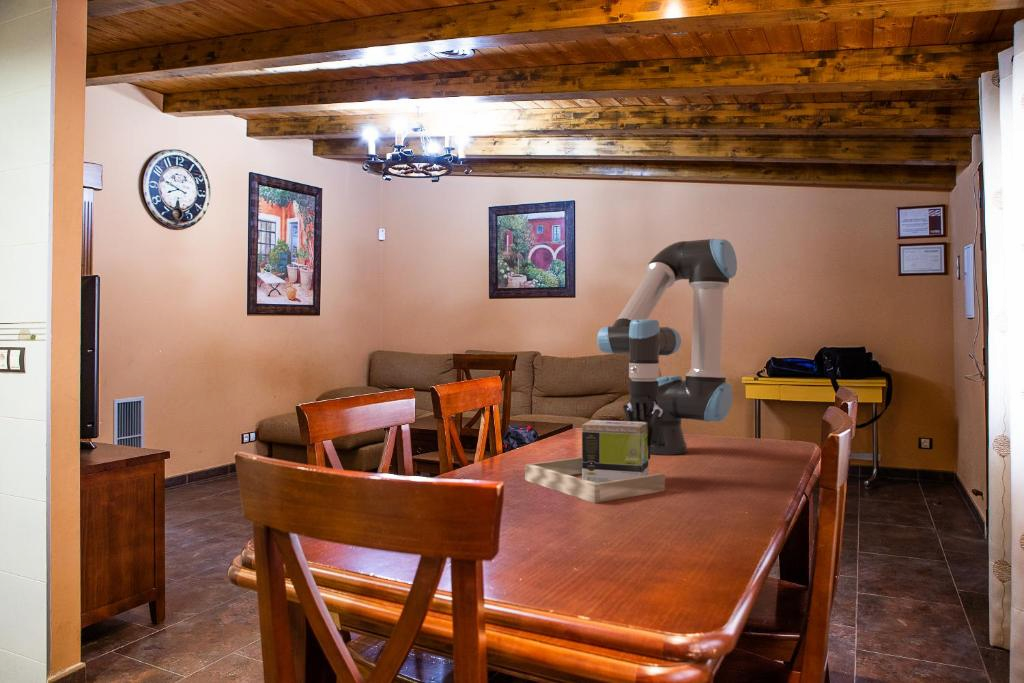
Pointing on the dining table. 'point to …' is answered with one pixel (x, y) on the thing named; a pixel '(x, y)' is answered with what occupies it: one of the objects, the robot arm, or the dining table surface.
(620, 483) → the corral
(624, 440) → the tea box
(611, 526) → the dining table surface
